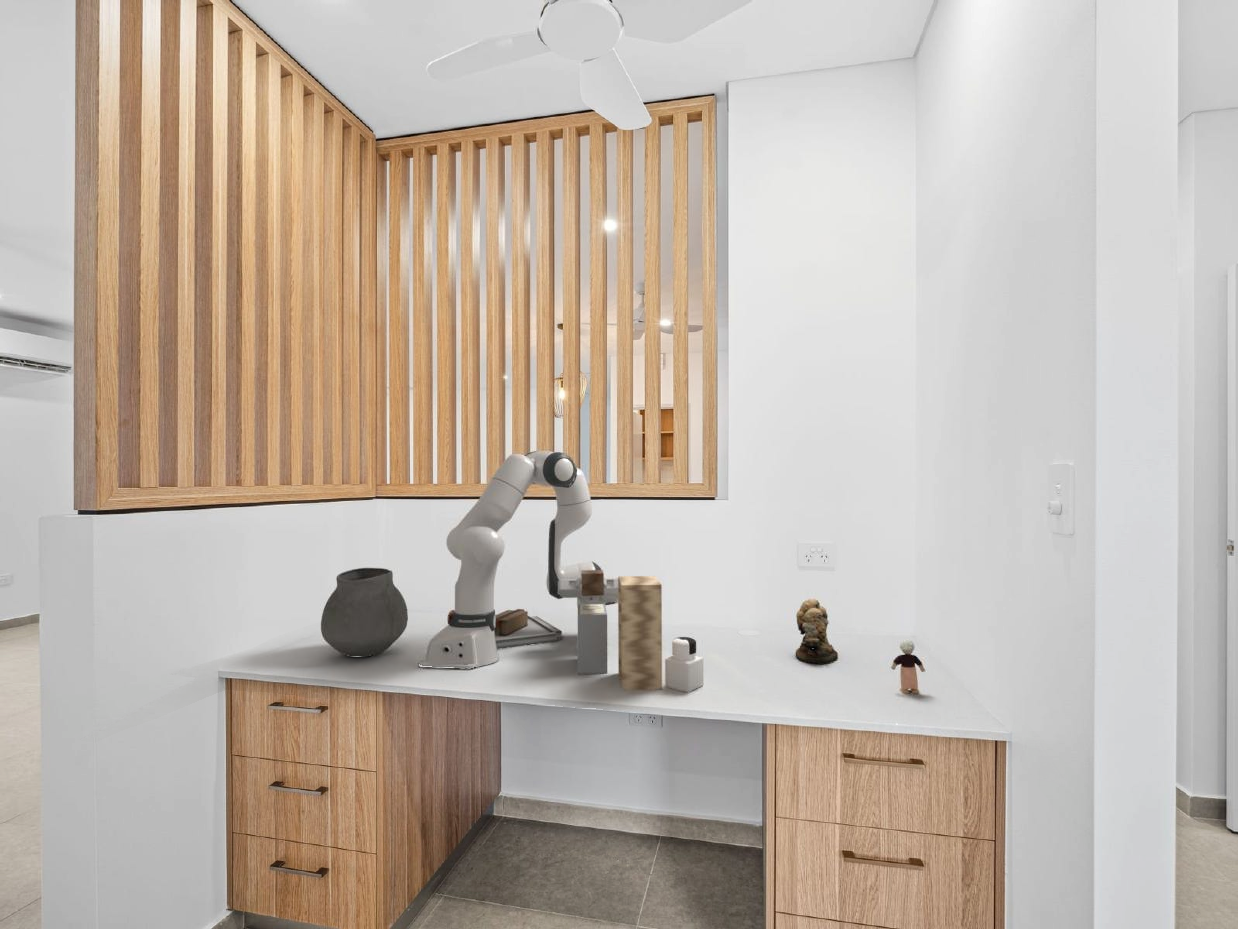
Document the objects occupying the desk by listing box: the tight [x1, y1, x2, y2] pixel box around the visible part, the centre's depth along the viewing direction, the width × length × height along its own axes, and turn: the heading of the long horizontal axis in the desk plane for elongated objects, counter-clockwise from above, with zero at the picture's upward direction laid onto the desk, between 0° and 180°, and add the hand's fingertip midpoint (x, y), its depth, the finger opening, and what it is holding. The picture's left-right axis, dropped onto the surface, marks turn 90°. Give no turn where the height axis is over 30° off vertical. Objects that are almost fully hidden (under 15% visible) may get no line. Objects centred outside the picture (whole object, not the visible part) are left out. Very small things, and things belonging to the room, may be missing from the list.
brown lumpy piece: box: [795, 598, 839, 665], centre depth 186 cm, size 18×12×17 cm, turn 159°
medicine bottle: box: [664, 636, 704, 693], centre depth 160 cm, size 7×7×12 cm
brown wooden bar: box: [581, 569, 605, 596], centre depth 181 cm, size 6×18×6 cm, turn 4°
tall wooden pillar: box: [617, 575, 663, 691], centre depth 164 cm, size 10×14×26 cm
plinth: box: [577, 604, 608, 675], centre depth 177 cm, size 8×14×16 cm, turn 4°
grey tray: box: [494, 608, 563, 650], centre depth 212 cm, size 30×30×8 cm
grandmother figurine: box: [890, 639, 926, 694], centre depth 155 cm, size 8×4×13 cm, turn 92°
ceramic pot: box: [320, 567, 409, 657], centre depth 190 cm, size 24×24×25 cm
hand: (591, 578), depth 186 cm, fingers closed on brown wooden bar, 4 cm apart
